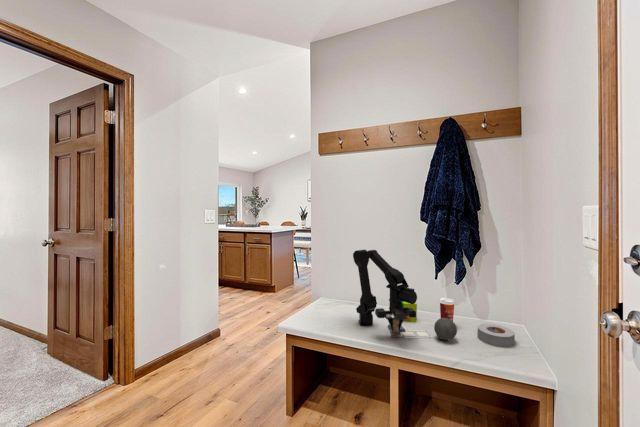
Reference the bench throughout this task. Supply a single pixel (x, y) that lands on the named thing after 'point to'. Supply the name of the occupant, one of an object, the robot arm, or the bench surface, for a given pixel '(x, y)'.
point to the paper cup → (447, 308)
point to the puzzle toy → (414, 307)
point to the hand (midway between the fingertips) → (395, 330)
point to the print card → (416, 334)
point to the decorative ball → (445, 329)
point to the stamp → (395, 328)
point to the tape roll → (496, 335)
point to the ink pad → (399, 330)
